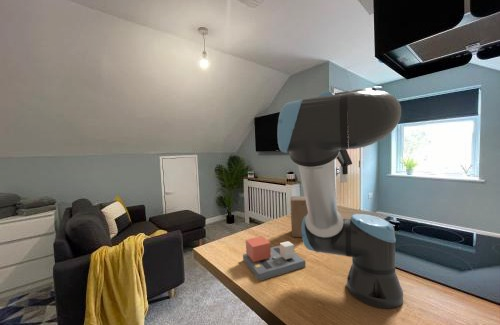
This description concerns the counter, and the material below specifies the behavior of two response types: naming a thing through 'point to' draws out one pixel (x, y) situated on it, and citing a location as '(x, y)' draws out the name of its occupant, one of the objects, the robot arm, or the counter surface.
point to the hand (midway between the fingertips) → (331, 180)
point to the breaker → (287, 250)
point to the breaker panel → (273, 264)
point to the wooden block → (298, 214)
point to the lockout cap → (258, 249)
